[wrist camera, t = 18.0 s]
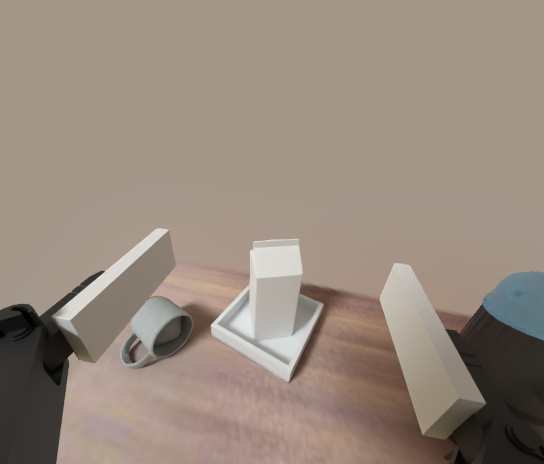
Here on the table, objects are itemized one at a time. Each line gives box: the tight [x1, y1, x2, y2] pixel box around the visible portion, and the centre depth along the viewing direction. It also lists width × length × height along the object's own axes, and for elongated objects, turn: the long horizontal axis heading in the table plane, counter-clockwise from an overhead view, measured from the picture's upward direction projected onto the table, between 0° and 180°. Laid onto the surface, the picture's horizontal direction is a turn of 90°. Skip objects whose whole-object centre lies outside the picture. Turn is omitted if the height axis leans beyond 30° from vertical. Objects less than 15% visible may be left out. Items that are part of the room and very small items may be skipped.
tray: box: [211, 284, 324, 383], centre depth 44 cm, size 16×16×3 cm
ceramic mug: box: [120, 296, 193, 369], centre depth 38 cm, size 11×8×8 cm
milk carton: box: [249, 239, 303, 341], centre depth 40 cm, size 7×7×19 cm
